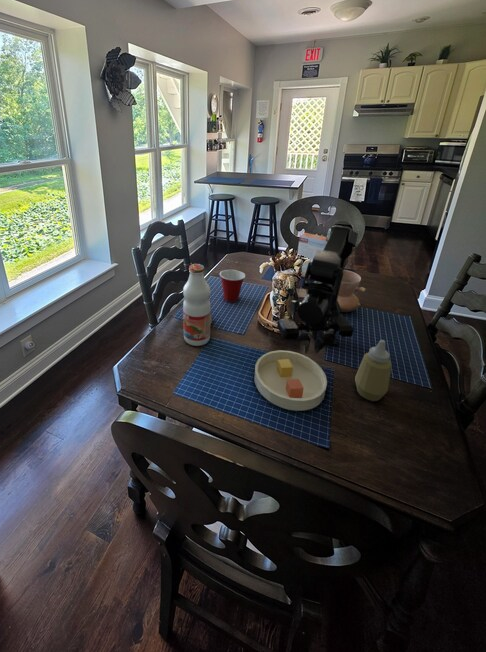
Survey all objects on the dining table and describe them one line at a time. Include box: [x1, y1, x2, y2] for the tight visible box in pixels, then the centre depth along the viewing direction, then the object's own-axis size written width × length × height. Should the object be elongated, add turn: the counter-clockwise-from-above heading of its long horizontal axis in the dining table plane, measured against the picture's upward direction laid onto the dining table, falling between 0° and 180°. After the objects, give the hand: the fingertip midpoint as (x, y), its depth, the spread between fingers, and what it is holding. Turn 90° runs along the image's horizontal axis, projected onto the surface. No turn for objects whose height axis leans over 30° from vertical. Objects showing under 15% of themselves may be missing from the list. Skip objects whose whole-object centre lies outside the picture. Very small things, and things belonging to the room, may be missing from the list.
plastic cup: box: [219, 269, 246, 303], centre depth 136 cm, size 11×11×12 cm
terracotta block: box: [286, 379, 304, 398], centre depth 89 cm, size 4×4×4 cm
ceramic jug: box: [337, 269, 366, 313], centre depth 129 cm, size 18×14×14 cm
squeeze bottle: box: [354, 339, 393, 402], centre depth 86 cm, size 8×8×18 cm
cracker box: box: [297, 232, 327, 280], centre depth 152 cm, size 14×6×21 cm, turn 46°
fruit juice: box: [182, 263, 212, 347], centre depth 108 cm, size 9×9×28 cm
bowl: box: [253, 349, 328, 412], centre depth 93 cm, size 20×20×4 cm
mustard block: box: [277, 359, 293, 377], centre depth 96 cm, size 4×4×4 cm
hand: (310, 352), depth 89 cm, fingers open, 3 cm apart
